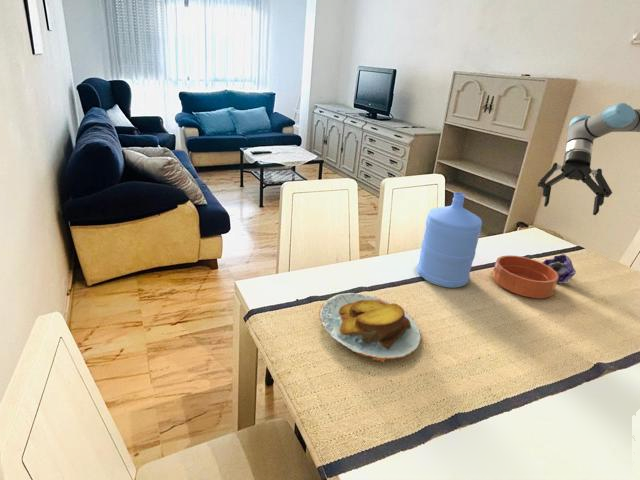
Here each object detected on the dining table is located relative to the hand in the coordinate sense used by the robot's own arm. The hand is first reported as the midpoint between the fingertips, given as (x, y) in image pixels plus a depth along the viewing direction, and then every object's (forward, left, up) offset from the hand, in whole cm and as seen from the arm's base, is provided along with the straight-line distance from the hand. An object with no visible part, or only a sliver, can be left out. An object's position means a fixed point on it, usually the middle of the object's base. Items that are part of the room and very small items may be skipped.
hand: (570, 208), depth 127 cm
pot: (+6, +23, -21) cm, 32 cm away
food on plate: (+33, +76, -21) cm, 85 cm away
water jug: (+27, +35, -21) cm, 49 cm away
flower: (-2, +10, -21) cm, 23 cm away
